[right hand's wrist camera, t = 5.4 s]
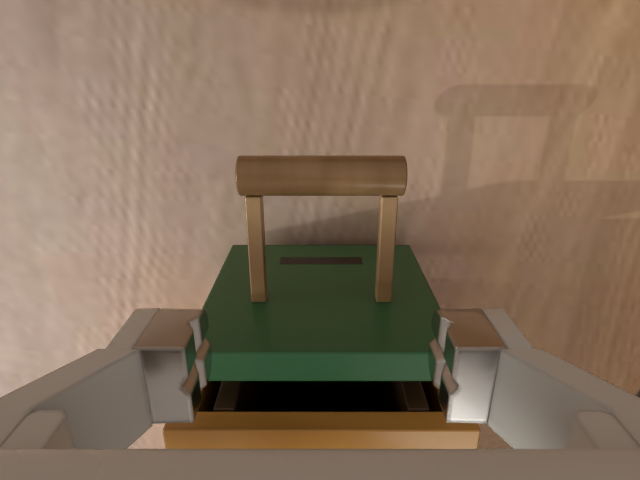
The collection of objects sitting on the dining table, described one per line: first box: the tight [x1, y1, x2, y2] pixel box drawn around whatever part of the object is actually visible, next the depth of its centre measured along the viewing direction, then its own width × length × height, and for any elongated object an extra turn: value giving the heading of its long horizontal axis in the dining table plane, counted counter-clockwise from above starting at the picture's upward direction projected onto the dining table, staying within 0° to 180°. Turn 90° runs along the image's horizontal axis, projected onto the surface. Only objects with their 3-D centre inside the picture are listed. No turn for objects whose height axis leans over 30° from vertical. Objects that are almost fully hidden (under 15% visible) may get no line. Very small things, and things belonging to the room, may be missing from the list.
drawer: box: [202, 156, 441, 412], centre depth 22 cm, size 25×9×10 cm, turn 0°
